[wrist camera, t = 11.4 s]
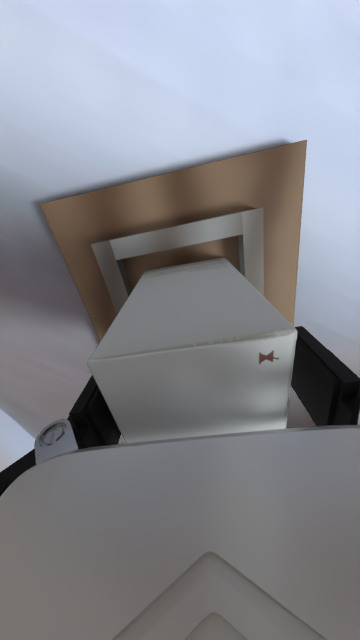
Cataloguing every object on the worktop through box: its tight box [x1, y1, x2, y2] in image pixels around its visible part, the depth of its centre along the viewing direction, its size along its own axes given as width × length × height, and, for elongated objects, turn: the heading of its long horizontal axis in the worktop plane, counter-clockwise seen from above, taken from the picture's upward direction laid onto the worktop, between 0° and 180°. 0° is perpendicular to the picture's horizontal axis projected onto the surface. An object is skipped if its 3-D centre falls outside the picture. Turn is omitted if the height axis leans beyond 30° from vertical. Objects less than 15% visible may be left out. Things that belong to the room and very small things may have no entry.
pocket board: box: [40, 140, 307, 341], centre depth 19 cm, size 20×20×3 cm
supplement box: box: [87, 257, 297, 443], centre depth 14 cm, size 7×7×13 cm
